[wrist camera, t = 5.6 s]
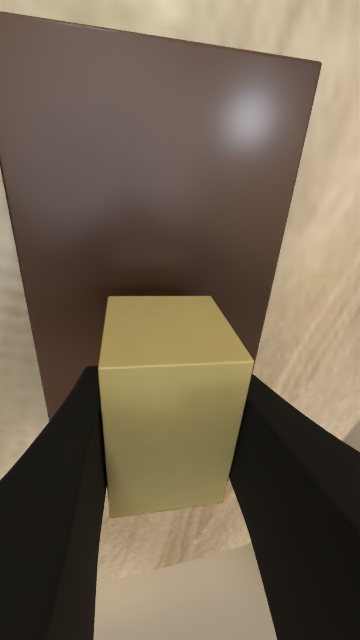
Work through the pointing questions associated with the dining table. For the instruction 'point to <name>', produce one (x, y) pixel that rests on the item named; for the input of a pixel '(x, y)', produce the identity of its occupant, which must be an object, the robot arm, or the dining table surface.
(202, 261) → the board
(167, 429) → the butter
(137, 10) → the dining table surface
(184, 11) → the dining table surface
